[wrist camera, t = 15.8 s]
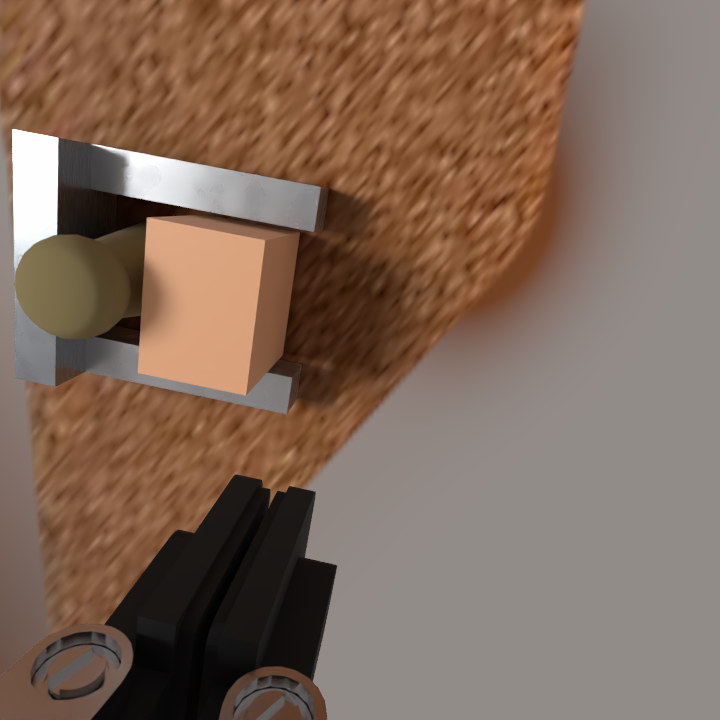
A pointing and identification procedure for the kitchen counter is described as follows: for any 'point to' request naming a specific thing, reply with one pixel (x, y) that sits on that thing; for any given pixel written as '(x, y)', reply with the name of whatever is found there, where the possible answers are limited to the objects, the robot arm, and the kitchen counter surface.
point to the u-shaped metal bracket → (98, 218)
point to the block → (215, 300)
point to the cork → (82, 282)
